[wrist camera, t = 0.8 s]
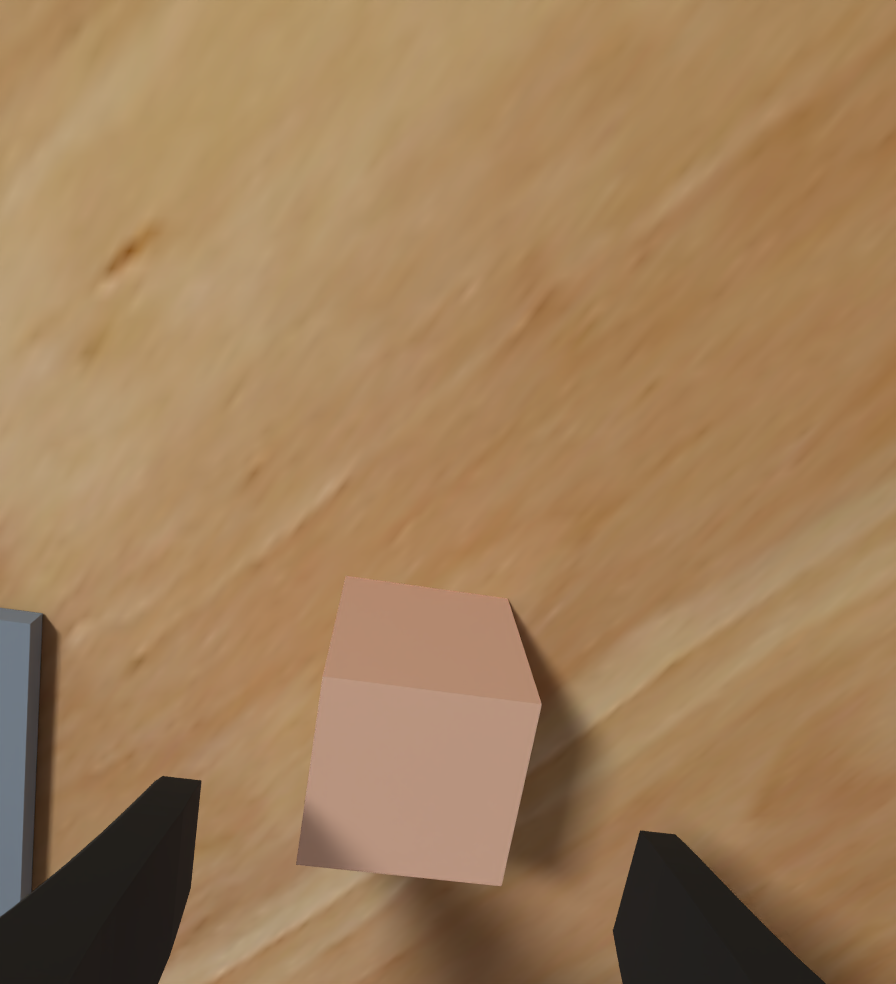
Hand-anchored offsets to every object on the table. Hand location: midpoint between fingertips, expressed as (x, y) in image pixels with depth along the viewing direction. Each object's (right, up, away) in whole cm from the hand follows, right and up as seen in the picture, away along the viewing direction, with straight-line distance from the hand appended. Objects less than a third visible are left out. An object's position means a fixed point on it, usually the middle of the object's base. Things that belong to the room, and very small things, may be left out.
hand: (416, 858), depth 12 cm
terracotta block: (0, +2, +7) cm, 7 cm away
